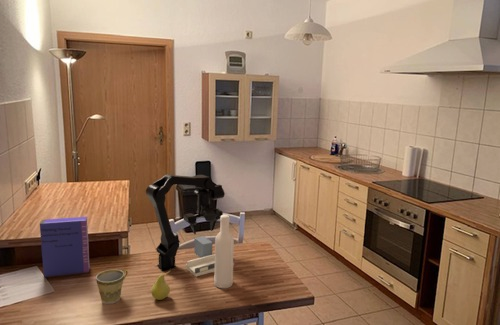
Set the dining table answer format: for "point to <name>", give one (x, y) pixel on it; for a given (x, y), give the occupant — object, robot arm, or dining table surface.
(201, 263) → the shelf
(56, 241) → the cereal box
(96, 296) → the dining table surface
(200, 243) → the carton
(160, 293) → the fruit
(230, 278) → the bottle
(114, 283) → the ceramic cup
